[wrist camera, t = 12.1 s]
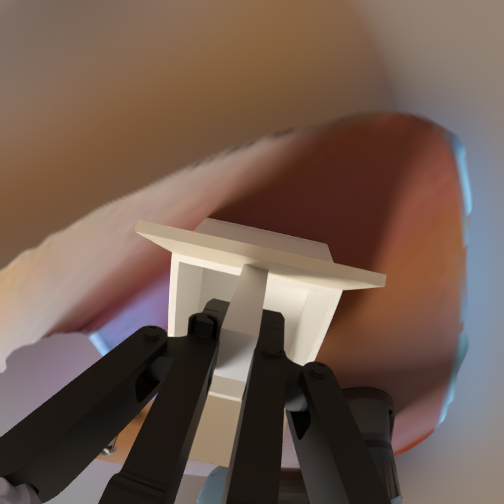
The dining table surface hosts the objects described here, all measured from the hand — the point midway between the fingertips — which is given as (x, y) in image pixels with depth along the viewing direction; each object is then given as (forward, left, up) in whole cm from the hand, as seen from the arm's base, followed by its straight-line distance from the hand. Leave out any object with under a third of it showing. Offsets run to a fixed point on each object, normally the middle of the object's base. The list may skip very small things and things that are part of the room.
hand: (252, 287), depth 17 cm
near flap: (0, -1, 0) cm, 1 cm away
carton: (0, +8, -14) cm, 16 cm away
